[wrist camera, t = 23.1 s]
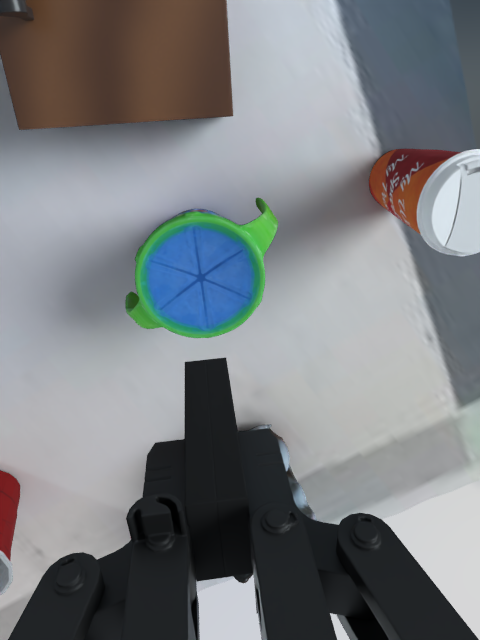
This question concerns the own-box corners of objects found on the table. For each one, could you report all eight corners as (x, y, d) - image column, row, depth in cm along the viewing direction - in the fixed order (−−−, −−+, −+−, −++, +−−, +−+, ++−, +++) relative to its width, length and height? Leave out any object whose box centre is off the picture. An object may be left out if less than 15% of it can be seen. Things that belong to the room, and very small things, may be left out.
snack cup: (161, 323, 49) (156, 373, 40) (101, 240, 44) (79, 276, 35) (290, 250, 47) (315, 286, 38) (240, 156, 42) (255, 171, 33)
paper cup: (352, 150, 43) (420, 169, 31) (430, 126, 43) (531, 136, 30) (364, 228, 47) (429, 274, 34) (436, 206, 47) (529, 245, 34)
